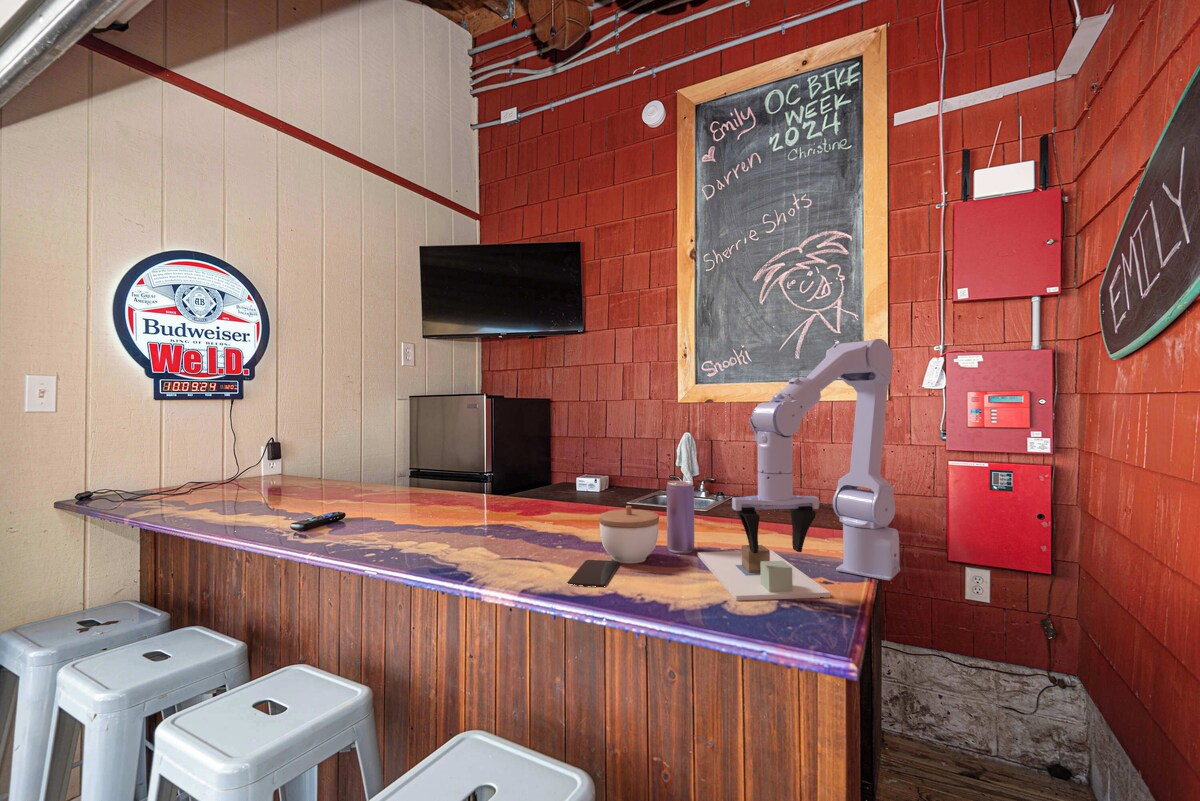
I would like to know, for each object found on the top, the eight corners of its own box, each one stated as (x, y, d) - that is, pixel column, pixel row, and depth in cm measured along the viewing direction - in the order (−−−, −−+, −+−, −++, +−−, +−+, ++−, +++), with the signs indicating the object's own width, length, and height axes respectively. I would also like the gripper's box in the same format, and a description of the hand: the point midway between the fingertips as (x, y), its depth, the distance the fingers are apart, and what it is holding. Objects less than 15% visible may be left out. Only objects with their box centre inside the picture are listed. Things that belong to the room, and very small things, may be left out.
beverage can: (694, 554, 117) (693, 484, 117) (666, 553, 118) (665, 484, 118) (694, 547, 123) (694, 480, 123) (668, 546, 124) (667, 480, 124)
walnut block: (762, 565, 106) (761, 544, 106) (769, 572, 102) (769, 550, 102) (741, 566, 106) (741, 545, 106) (748, 572, 102) (748, 551, 102)
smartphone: (605, 590, 97) (620, 564, 112) (605, 585, 97) (620, 560, 112) (565, 587, 99) (585, 563, 113) (565, 583, 99) (585, 559, 113)
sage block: (782, 583, 96) (782, 560, 96) (792, 591, 92) (792, 567, 92) (760, 584, 96) (760, 561, 96) (769, 592, 92) (769, 568, 92)
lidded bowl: (657, 569, 108) (657, 512, 108) (594, 566, 110) (594, 511, 110) (661, 551, 120) (660, 501, 120) (604, 549, 122) (603, 500, 122)
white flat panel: (771, 553, 117) (771, 549, 117) (830, 597, 91) (830, 591, 91) (697, 555, 116) (697, 551, 116) (736, 600, 90) (736, 595, 90)
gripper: (805, 468, 98) (806, 544, 98) (726, 469, 97) (727, 546, 97) (824, 473, 91) (825, 555, 91) (739, 475, 90) (739, 557, 90)
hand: (775, 551), depth 94 cm, fingers open, 7 cm apart
